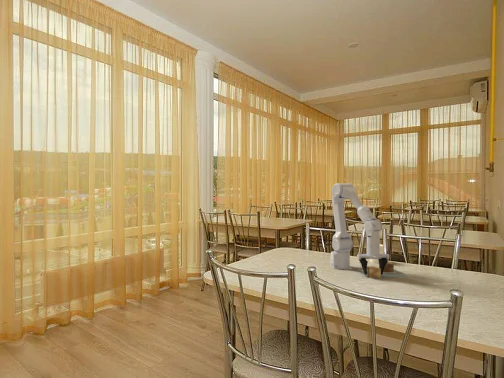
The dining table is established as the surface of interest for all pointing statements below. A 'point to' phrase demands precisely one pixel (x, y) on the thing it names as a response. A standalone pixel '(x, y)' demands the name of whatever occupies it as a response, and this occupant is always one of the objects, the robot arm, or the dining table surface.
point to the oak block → (373, 271)
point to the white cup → (380, 253)
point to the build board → (388, 274)
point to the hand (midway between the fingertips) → (373, 274)
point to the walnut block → (389, 267)
